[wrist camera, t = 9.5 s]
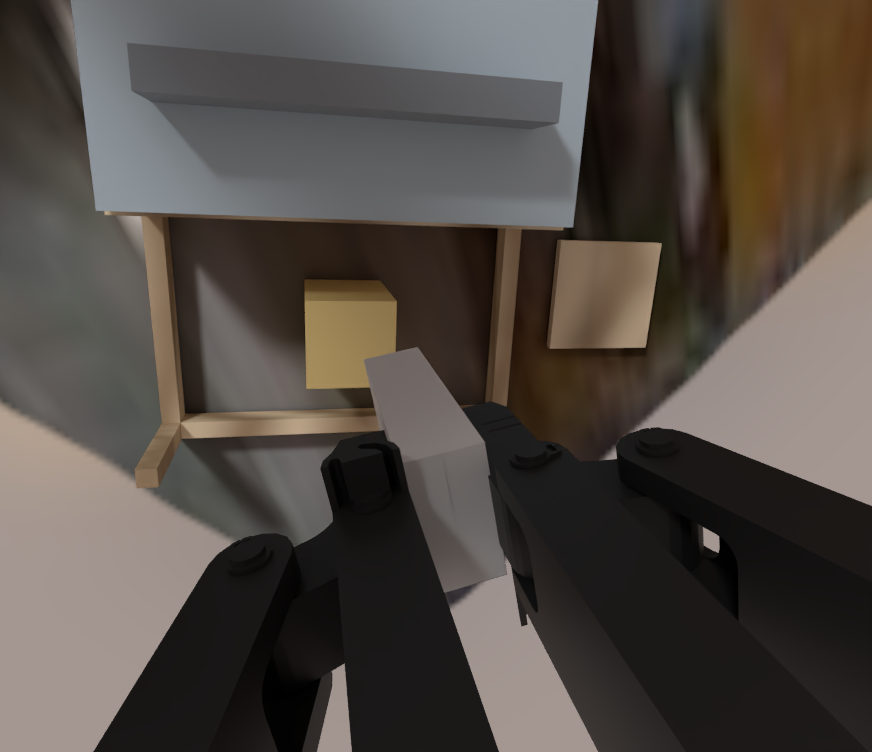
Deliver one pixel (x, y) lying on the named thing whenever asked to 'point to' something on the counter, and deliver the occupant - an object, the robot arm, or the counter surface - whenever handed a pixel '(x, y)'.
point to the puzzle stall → (290, 421)
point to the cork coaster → (602, 294)
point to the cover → (337, 107)
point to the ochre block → (346, 330)
